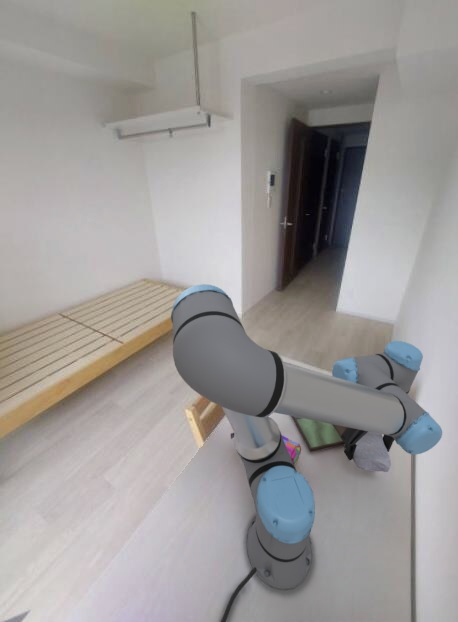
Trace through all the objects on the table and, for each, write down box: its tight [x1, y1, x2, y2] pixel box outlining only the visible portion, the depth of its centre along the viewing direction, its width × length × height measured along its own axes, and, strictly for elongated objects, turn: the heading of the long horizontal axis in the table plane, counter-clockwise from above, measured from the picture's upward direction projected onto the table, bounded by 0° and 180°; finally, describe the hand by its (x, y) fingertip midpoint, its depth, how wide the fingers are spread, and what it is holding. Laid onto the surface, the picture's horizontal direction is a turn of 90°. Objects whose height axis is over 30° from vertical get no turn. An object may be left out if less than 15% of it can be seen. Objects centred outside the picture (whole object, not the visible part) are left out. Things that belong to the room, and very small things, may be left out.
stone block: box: [352, 431, 392, 473], centre depth 78 cm, size 12×5×10 cm
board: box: [291, 416, 347, 453], centre depth 99 cm, size 24×24×2 cm
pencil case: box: [230, 432, 302, 467], centre depth 85 cm, size 22×9×9 cm, turn 55°
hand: (366, 452), depth 79 cm, fingers closed on stone block, 11 cm apart
